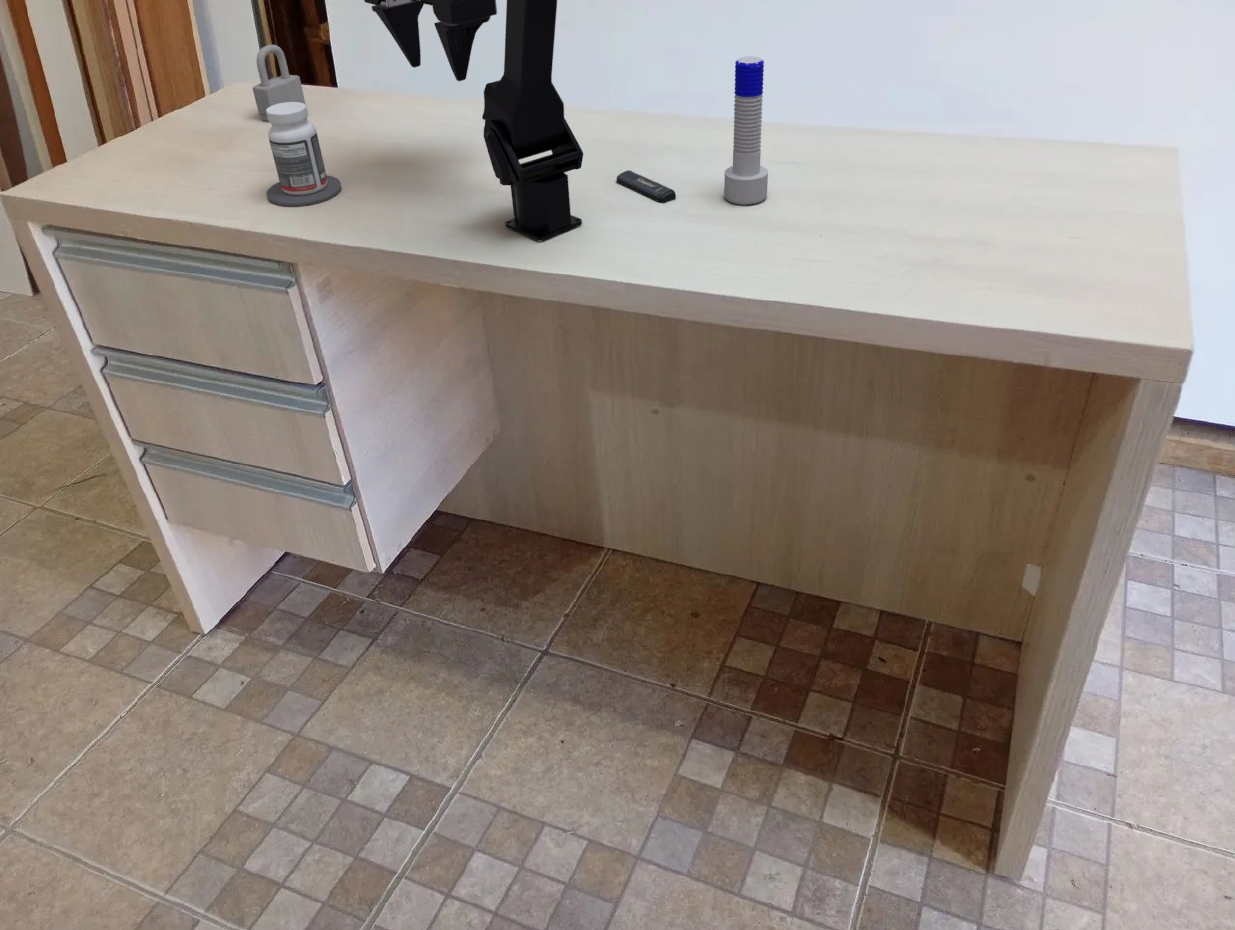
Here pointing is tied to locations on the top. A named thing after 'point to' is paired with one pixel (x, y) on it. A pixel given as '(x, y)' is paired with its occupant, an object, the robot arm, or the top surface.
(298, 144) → the pill bottle
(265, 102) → the padlock
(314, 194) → the coaster
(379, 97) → the top surface
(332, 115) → the top surface
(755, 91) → the bolt
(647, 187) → the usb stick
